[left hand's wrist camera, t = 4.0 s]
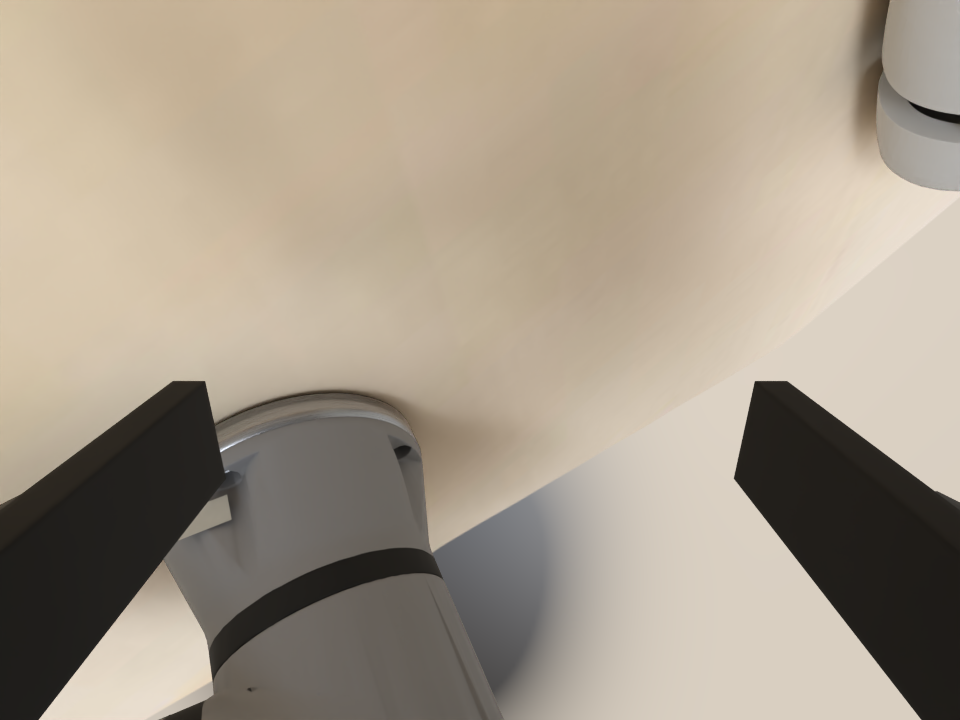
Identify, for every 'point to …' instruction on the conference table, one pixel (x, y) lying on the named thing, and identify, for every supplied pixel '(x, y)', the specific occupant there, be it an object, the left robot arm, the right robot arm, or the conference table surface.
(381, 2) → the conference table surface
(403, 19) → the conference table surface
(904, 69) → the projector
